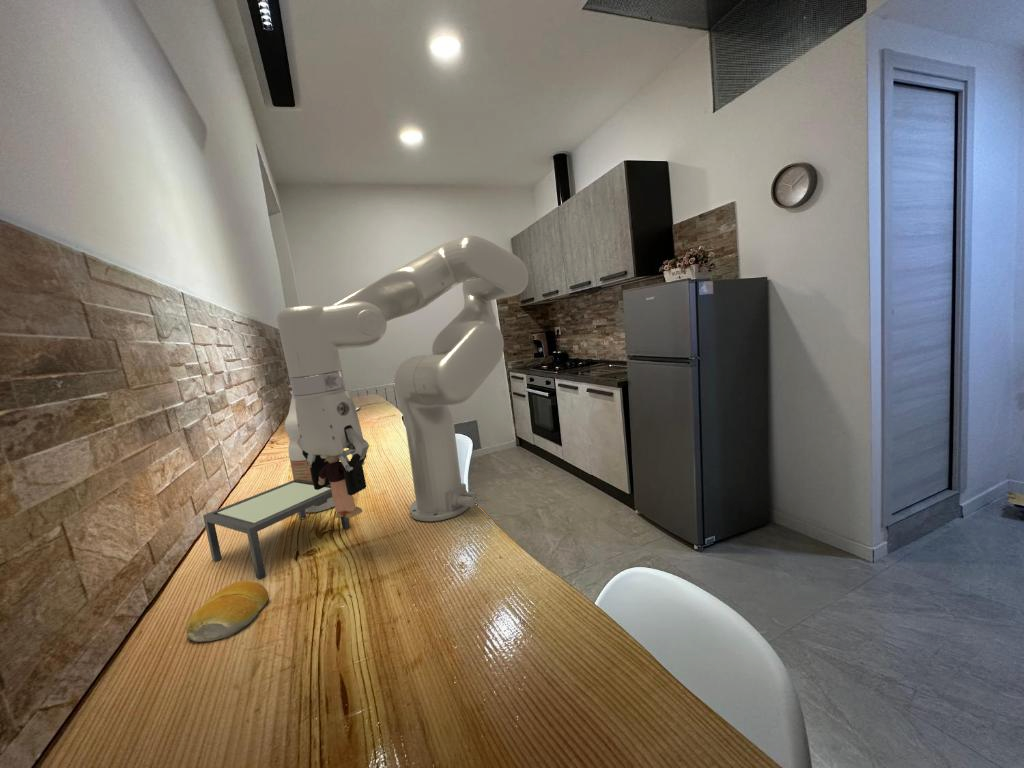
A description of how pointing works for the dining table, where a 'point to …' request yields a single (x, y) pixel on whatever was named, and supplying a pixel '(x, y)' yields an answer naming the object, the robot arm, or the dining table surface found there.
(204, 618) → the bread roll
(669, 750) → the dining table surface
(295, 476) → the fruit juice
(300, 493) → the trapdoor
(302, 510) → the miniature green-top table
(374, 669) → the dining table surface
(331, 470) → the grandmother figurine
